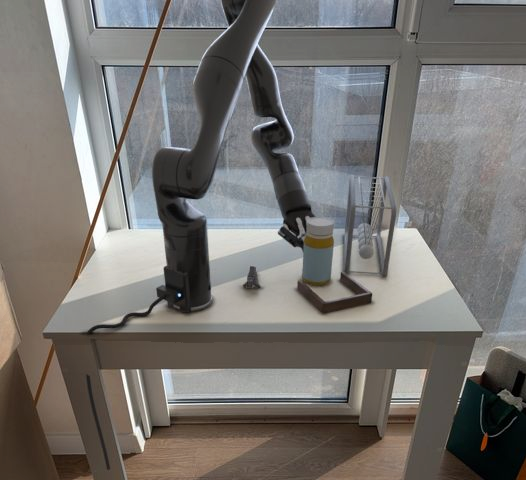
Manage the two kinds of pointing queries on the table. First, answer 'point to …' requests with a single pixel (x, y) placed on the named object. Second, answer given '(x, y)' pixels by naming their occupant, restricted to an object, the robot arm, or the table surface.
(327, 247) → the bottle
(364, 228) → the newton's cradle
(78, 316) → the table surface
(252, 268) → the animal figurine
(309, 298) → the bay
